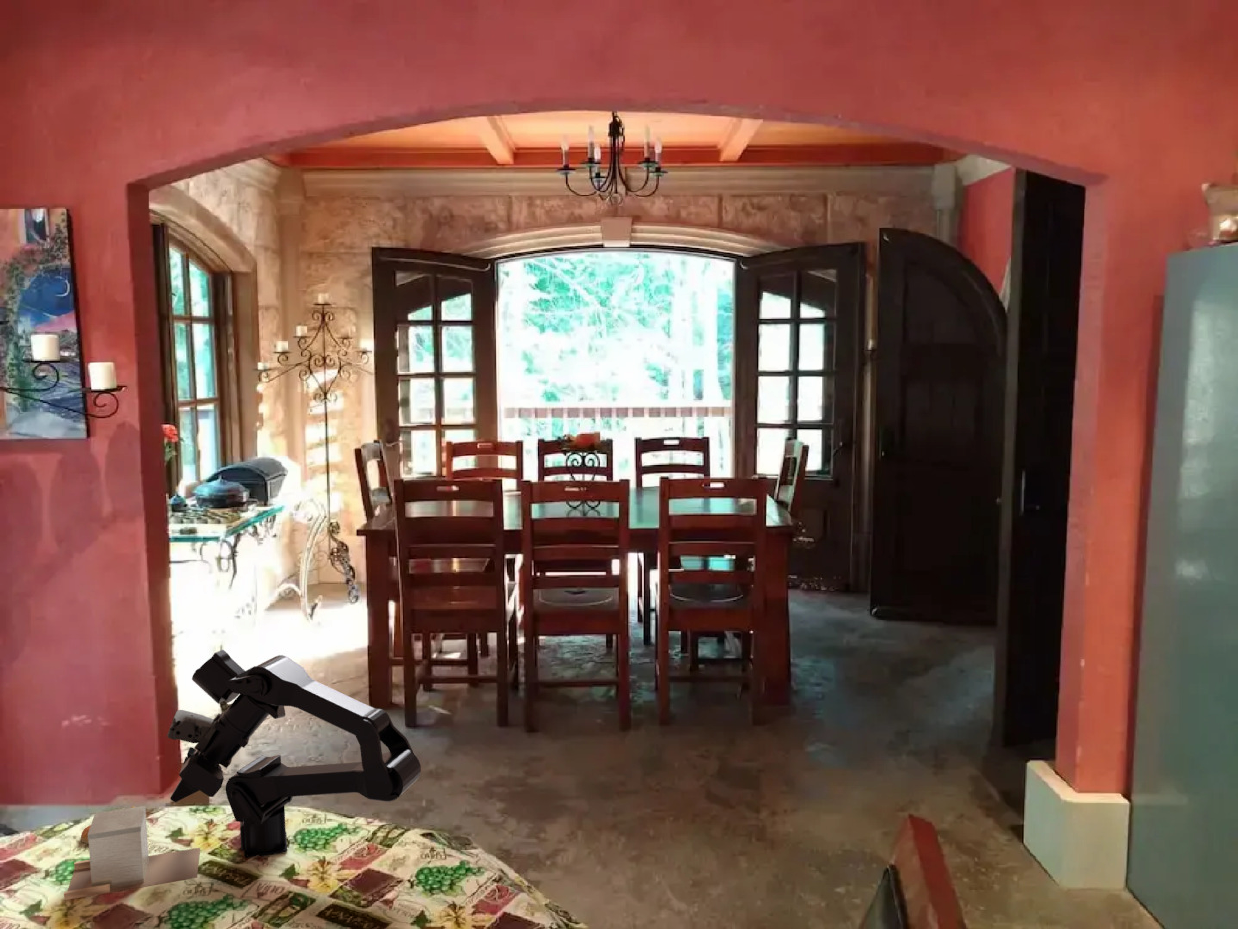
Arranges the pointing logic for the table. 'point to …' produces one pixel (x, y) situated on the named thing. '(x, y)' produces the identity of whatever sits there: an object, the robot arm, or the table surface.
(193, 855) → the board
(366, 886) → the table surface
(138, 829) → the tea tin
